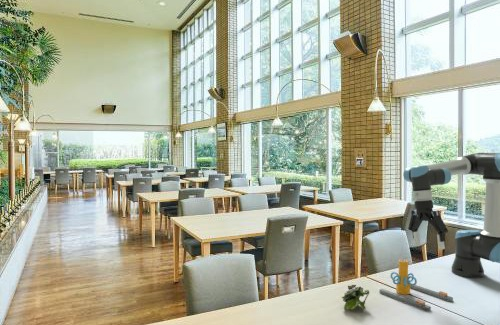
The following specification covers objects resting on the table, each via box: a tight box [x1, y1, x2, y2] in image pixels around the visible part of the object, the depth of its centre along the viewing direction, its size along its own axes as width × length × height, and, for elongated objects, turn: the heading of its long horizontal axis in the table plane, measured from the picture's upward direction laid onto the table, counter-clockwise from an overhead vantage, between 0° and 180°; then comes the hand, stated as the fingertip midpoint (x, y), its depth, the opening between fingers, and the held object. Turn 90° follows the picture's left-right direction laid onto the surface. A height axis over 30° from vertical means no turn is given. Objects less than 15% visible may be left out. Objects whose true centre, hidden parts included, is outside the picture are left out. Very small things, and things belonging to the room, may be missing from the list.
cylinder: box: [390, 259, 418, 296], centre depth 173 cm, size 12×10×15 cm
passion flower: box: [341, 284, 370, 311], centre depth 157 cm, size 11×11×12 cm
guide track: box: [379, 284, 454, 312], centre depth 168 cm, size 24×19×2 cm
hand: (429, 247), depth 165 cm, fingers open, 13 cm apart
